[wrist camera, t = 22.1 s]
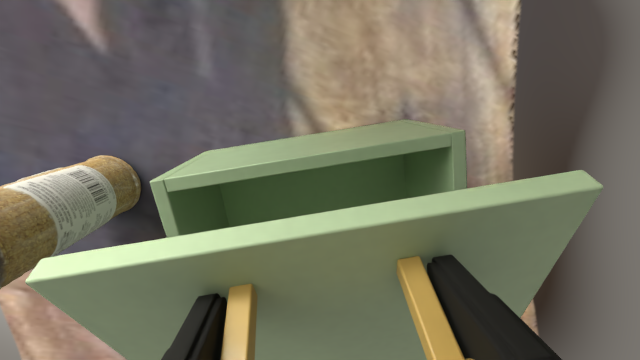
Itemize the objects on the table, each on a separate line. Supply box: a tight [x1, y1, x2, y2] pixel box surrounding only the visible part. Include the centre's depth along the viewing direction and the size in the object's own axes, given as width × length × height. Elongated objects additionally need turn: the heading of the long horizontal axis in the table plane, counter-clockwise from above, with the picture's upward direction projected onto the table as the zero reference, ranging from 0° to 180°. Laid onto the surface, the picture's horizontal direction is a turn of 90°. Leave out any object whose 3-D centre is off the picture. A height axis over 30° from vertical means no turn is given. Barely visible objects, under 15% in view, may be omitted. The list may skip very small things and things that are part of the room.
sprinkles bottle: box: [0, 156, 141, 289], centre depth 17 cm, size 5×5×13 cm
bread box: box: [150, 119, 467, 238], centre depth 21 cm, size 14×15×9 cm
